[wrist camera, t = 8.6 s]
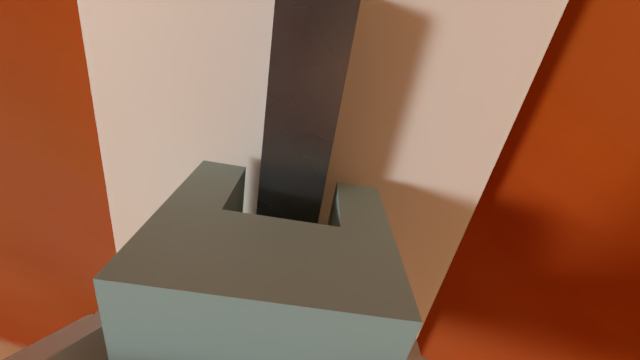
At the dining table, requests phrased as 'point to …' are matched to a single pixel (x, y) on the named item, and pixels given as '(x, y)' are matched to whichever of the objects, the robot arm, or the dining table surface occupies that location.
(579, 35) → the dining table surface
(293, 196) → the metal rail
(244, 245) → the channel block
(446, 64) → the mounting board
